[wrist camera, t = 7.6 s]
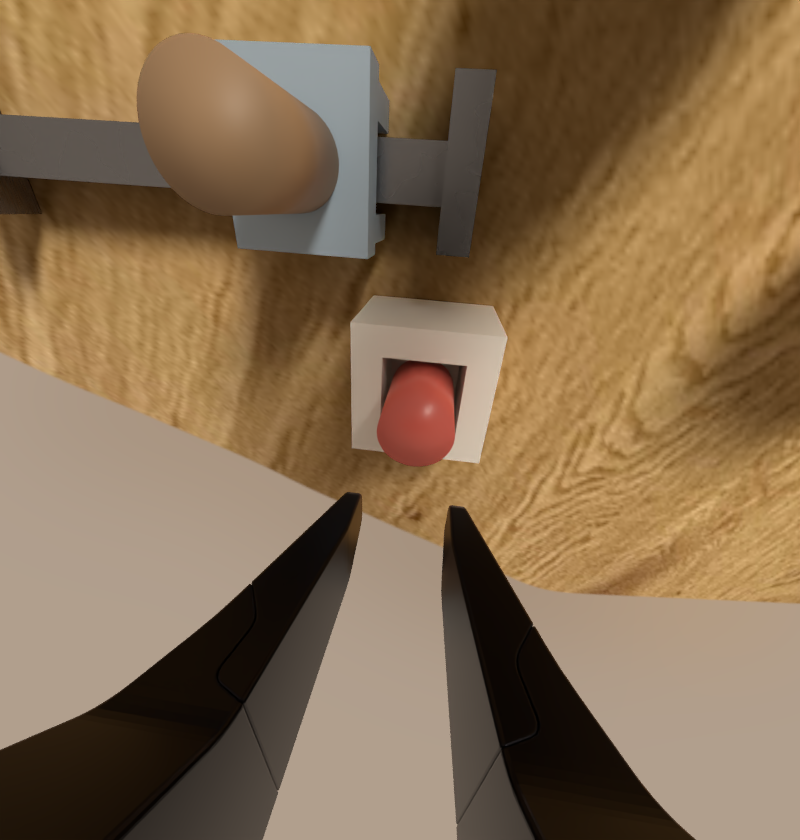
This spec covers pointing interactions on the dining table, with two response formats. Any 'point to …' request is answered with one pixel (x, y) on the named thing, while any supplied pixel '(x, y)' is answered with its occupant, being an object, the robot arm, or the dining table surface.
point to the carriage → (270, 138)
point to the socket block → (428, 342)
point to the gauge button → (418, 414)
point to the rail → (132, 165)
